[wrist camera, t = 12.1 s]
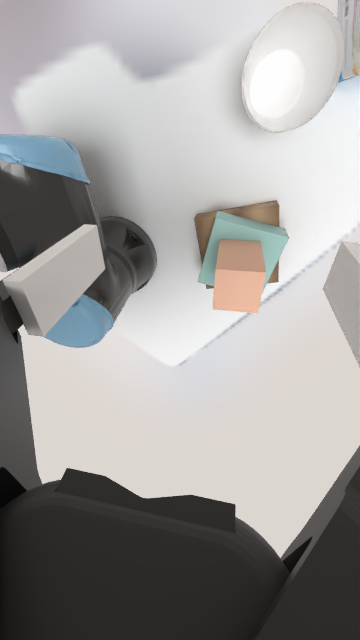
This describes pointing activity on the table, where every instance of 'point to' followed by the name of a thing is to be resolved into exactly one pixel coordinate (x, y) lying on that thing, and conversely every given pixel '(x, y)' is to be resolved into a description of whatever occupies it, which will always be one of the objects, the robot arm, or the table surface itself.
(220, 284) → the tall block
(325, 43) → the cup
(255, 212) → the block bottom
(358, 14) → the ink box
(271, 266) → the block top
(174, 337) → the table surface
